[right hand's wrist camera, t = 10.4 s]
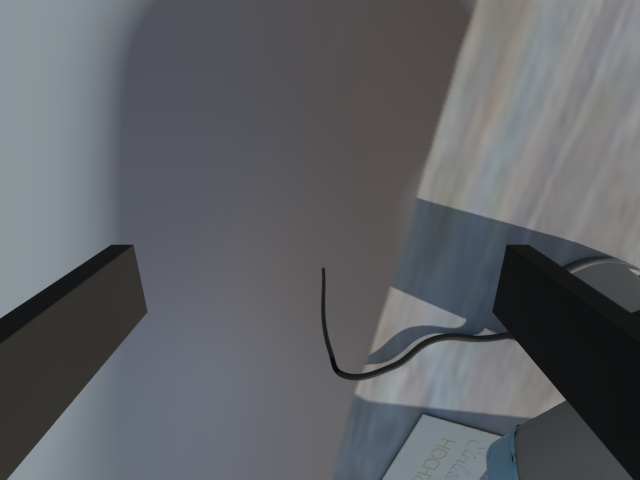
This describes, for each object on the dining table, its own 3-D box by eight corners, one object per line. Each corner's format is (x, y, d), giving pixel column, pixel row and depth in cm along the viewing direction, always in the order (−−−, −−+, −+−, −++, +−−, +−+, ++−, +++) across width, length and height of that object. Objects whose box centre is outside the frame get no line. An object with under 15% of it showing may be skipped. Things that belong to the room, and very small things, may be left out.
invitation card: (423, 415, 52) (510, 440, 54) (422, 413, 52) (509, 438, 54) (368, 502, 59) (446, 521, 61) (367, 501, 59) (446, 520, 61)
